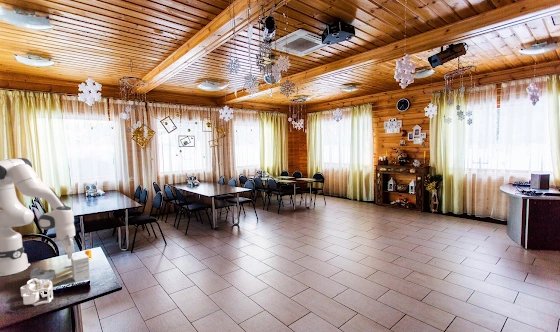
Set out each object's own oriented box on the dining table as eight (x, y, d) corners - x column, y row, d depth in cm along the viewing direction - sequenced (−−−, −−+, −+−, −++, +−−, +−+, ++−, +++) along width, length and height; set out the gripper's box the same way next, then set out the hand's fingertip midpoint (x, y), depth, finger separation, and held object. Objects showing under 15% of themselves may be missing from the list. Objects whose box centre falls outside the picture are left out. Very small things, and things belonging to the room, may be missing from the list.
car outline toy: (20, 296, 142) (19, 282, 141) (48, 287, 150) (47, 274, 149) (24, 310, 128) (23, 295, 128) (55, 300, 136) (54, 286, 136)
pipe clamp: (85, 259, 189) (84, 250, 189) (91, 259, 189) (90, 250, 189) (71, 266, 177) (71, 257, 177) (78, 266, 177) (77, 256, 177)
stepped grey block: (34, 281, 157) (33, 268, 157) (43, 280, 158) (42, 267, 158) (30, 285, 153) (29, 271, 153) (39, 284, 154) (38, 270, 154)
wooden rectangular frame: (29, 289, 148) (27, 275, 147) (74, 270, 170) (73, 257, 170) (37, 291, 145) (36, 276, 145) (82, 272, 168) (82, 259, 168)
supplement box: (72, 278, 160) (70, 257, 159) (87, 273, 166) (86, 253, 165) (74, 282, 155) (73, 260, 154) (90, 277, 160) (88, 256, 160)
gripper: (76, 236, 158) (78, 259, 159) (69, 228, 172) (71, 250, 173) (62, 239, 153) (64, 263, 155) (56, 231, 167) (58, 253, 169)
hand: (68, 256), depth 164 cm, fingers open, 8 cm apart
